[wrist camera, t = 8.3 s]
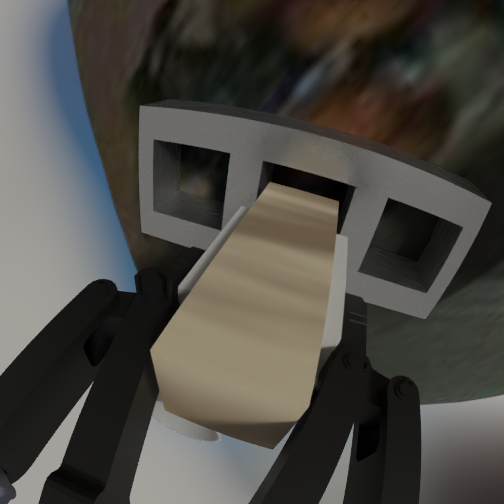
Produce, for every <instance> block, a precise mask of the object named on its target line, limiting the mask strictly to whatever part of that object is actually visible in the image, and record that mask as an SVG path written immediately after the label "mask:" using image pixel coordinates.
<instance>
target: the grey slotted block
mask: <svg viewBox="0 0 504 504" xmlns="http://www.w3.org/2000/svg"><path fill="white" fill-rule="evenodd" d="M182 144H186V145H191V146H197V147H202V148H207V149H212V150H217V151H222V152H227V153H230V161H229V169H228V177H227V186H226V194H225V203H224V202H221V201H217V200H213V199H209V198H205V197H201V196H197V195H193V194H189V193H185V192H181V191H180V168H181V150H182ZM274 163H275V164H279V165H283V166H287V167H291V168H294V169H298V170H302V171H305V172H309V173H313V174H316V175H320V176H323V177H326V178H330V179H333V180H336V181H340V182H343V183H346V184H349V186H348V189H347V193H346V196H345V199H344V202H343V205H342V208H341V211H340V214H339V217H338V221H337V232H336V234H339V235H342V236H346V237H348V249H347V271H346V288H345V292H346V293H349V294H353V295H356V296H359V297H362V298H363V300H364V302H367V303H371V304H374V305H378V306H381V307H385V308H388V309H391V310H395V311H398V312H402V313H405V314H409V315H412V316H416V317H419V318H423V319H426V318H427V316H428V315H429V313H430V312H431V310H432V309H433V308H434V306H435V305H436V303H437V302H438V300H439V299H440V297H441V296H442V294H443V293H444V291H445V289H446V288H447V286H448V285H449V283H450V282H451V280H452V278H453V277H454V275H455V273H456V272H457V270H458V268H459V267H460V265H461V263H462V261H463V260H464V258H465V256H466V254H467V253H468V251H469V249H470V247H471V245H472V243H473V241H474V240H475V238H476V236H477V234H478V232H479V230H480V228H481V226H482V224H483V222H484V219H485V217H486V215H487V213H488V211H489V209H490V206H491V204H492V203H491V201H490V200H489V199H488V198H487V197H486V196H485V195H484V194H483V193H482V192H481V191H480V190H479V189H478V188H477V187H476V186H475V185H474V184H473V183H472V182H471V181H469V180H467V179H465V178H463V177H461V176H459V175H457V174H454V173H452V172H450V171H448V170H446V169H444V168H441V167H439V166H437V165H435V164H432V163H430V162H428V161H425V160H423V159H420V158H418V157H415V156H413V155H410V154H408V153H405V152H403V151H400V150H397V149H395V148H392V147H389V146H387V145H384V144H381V143H378V142H375V141H372V140H369V139H366V138H363V137H360V136H357V135H354V134H350V133H347V132H344V131H340V130H337V129H333V128H330V127H326V126H322V125H319V124H315V123H311V122H307V121H303V120H299V119H295V118H290V117H286V116H281V115H277V114H272V113H267V112H262V111H256V110H251V109H245V108H239V107H233V106H226V105H220V104H212V103H204V102H196V101H186V100H175V99H170V100H165V101H160V102H155V103H150V104H146V105H141V106H140V118H139V192H140V213H141V229H142V232H143V233H146V234H149V235H152V236H155V237H158V238H161V239H164V240H167V241H170V242H173V243H176V244H179V245H183V246H186V247H189V248H191V247H193V246H194V247H197V248H200V249H204V250H207V249H208V247H209V246H210V245H211V244H212V242H213V241H214V240H215V239H216V237H217V236H218V235H219V233H220V232H221V231H222V230H223V228H224V227H225V226H226V225H227V223H228V222H229V221H230V220H231V218H232V217H233V216H234V215H235V213H236V212H237V211H238V210H239V209H240V207H241V206H243V207H247V208H251V207H252V206H253V204H254V203H255V201H256V200H257V199H258V197H259V196H260V195H261V193H262V192H263V191H264V189H265V188H266V187H267V185H268V184H269V183H270V182H271V179H272V174H273V168H274ZM388 198H391V199H394V200H397V201H399V202H402V203H405V204H407V205H410V206H413V207H415V208H418V209H421V210H423V211H426V212H428V213H431V214H433V215H436V216H438V217H439V220H438V222H437V224H436V226H435V228H434V230H433V232H432V235H431V237H430V239H429V241H428V243H427V245H426V247H425V249H424V251H423V253H422V255H421V256H420V258H419V260H418V261H415V260H412V259H409V258H407V257H404V256H401V255H398V254H395V253H392V252H389V251H386V250H383V249H380V248H377V247H374V246H370V242H371V240H372V237H373V235H374V233H375V230H376V228H377V225H378V223H379V220H380V218H381V215H382V213H383V210H384V207H385V205H386V202H387V199H388Z"/></svg>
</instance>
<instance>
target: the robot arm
mask: <svg viewBox="0 0 504 504" xmlns="http://www.w3.org/2000/svg"><path fill="white" fill-rule="evenodd" d="M249 210H250V208H247V207H243V206H241V207H240V209H239V210H238V211H237V212H236V213H235V215H234V216H233V217H232V218H231V220H230V221H229V222H228V223H227V225H226V226H225V227H224V228H223V230H222V231H221V232H220V233H219V235H218V236H217V237H216V239H215V240H214V241H213V242H212V244H211V245H210V246H209V247H208V249H207V250H204V249H200V248H197V247H194V246H193V247H191V248H189V249H187V250H185V251H183V252H182V253H181V255H180V256H179V257H178V258H177V259H176V260H175V261H174V263H173V264H172V265H171V266H170V267H169V268H168V270H167V271H164V270H162V269H159V268H147V269H143V270H141V271H139V272H138V273H137V274H136V275H135V276H134V277H135V284H136V291H137V293H131V292H123V291H118V290H117V287H116V285H115V283H113V282H112V281H110V280H107V279H99V280H96V281H93V282H92V283H90V284H89V285H88V286H87V287H85V288H84V289H83V290H82V291H81V292H80V293H79V294H78V295H77V296H76V297H75V298H74V299H73V300H72V301H71V302H70V303H69V304H67V306H65V307H64V308H63V310H61V311H60V312H59V313H58V314H57V315H56V316H55V317H54V318H53V319H52V320H51V321H50V322H49V323H48V324H47V325H46V326H45V327H44V329H43V330H42V331H41V332H40V333H39V334H38V335H37V336H36V337H35V338H34V339H33V340H32V341H31V342H30V343H29V344H28V345H27V346H26V348H25V349H24V350H23V351H22V352H21V353H20V354H19V355H18V356H17V357H16V359H15V360H14V361H13V362H12V363H11V364H10V365H9V366H8V368H7V369H6V370H5V371H4V372H3V373H2V375H1V376H0V504H8V502H9V501H10V500H11V499H14V498H15V497H16V490H15V488H14V487H13V486H12V485H11V484H13V483H14V482H16V481H17V480H18V479H20V477H22V476H23V475H24V474H25V473H26V472H27V470H28V469H29V468H30V467H31V465H32V464H33V463H34V461H35V460H36V458H37V457H38V455H39V454H40V453H41V451H42V450H43V448H44V447H45V445H46V444H47V443H48V441H49V440H50V438H51V437H52V436H53V434H54V433H55V431H56V430H57V429H58V427H59V426H60V425H61V423H62V422H63V420H64V419H65V418H66V417H67V415H68V414H69V413H70V411H71V410H72V408H73V407H74V406H75V405H76V403H77V402H78V401H79V399H80V398H81V397H82V395H83V394H84V393H85V391H86V390H87V389H88V387H89V386H90V385H91V384H92V382H93V381H94V382H93V384H92V387H91V389H90V391H89V394H88V396H87V398H86V401H85V403H84V406H83V408H82V410H81V413H80V415H79V418H78V421H77V423H76V426H75V428H74V431H73V433H72V436H71V439H70V441H69V444H68V447H67V450H66V453H65V456H64V458H63V461H62V464H61V466H60V467H59V469H58V470H56V471H54V472H52V473H51V474H50V475H49V476H48V477H47V479H46V481H45V484H44V487H43V490H42V494H41V497H40V501H39V504H130V500H129V498H130V492H131V488H132V484H133V481H134V477H135V473H136V469H137V466H138V462H139V458H140V454H141V451H142V447H143V444H144V440H145V437H146V433H147V430H148V427H149V423H150V420H151V416H152V413H153V410H154V406H155V403H156V400H157V397H158V393H159V386H158V382H157V378H156V374H155V370H154V365H153V361H152V356H151V352H150V350H151V348H152V347H153V345H154V344H155V342H156V341H157V339H158V338H159V336H160V335H161V333H162V332H163V330H164V329H165V327H166V326H167V325H168V323H169V322H170V320H171V319H172V317H173V316H174V314H175V313H176V312H177V310H178V309H179V307H180V306H181V304H182V303H183V301H184V300H185V299H186V297H187V296H188V294H189V293H190V291H191V290H192V289H193V287H194V286H195V284H196V283H197V282H198V280H199V279H200V277H201V276H202V274H203V273H204V272H205V270H206V269H207V267H208V266H209V265H210V263H211V262H212V260H213V259H214V258H215V256H216V255H217V254H218V252H219V251H220V249H221V248H222V247H223V245H224V244H225V242H226V241H227V240H228V238H229V237H230V236H231V234H232V233H233V231H234V230H235V229H236V227H237V226H238V225H239V223H240V222H241V220H242V219H243V218H244V216H245V215H246V214H247V212H248V211H249ZM347 249H348V237H346V236H342V235H339V234H336V242H335V252H334V261H333V270H332V278H331V285H330V293H329V300H328V307H327V314H326V320H325V326H324V333H323V339H322V344H321V350H320V355H319V361H318V366H317V371H316V376H315V380H316V378H317V377H318V381H317V385H316V387H315V388H314V390H313V391H312V395H311V400H310V405H309V407H308V409H307V410H306V411H305V412H304V414H303V415H302V416H301V417H300V419H299V420H298V421H297V423H296V425H295V427H294V429H293V430H292V432H291V434H290V436H289V438H288V440H287V441H286V443H285V445H284V447H283V449H282V450H281V452H280V454H279V456H278V457H277V459H276V461H275V462H274V464H273V466H272V467H271V469H270V471H269V472H268V474H267V476H266V477H265V479H264V481H263V482H262V484H261V485H260V487H259V489H258V490H257V492H256V493H255V495H254V496H253V498H252V499H251V501H250V502H249V504H319V501H320V500H321V498H322V496H323V494H324V492H325V490H326V488H327V485H328V483H329V481H330V479H331V477H332V475H333V473H334V470H335V468H336V466H337V463H338V461H339V459H340V456H341V454H342V452H343V449H344V447H345V444H346V442H347V439H348V437H349V434H350V431H351V429H352V426H353V423H354V430H353V439H352V448H351V456H350V464H349V471H348V477H347V484H346V489H345V495H344V500H343V504H419V493H420V476H421V419H420V400H419V392H418V388H417V386H416V384H415V383H414V382H413V381H412V380H411V379H410V378H408V377H405V376H395V377H393V378H392V379H391V380H390V379H388V378H386V377H385V376H383V375H381V374H379V373H378V372H376V371H375V370H374V369H373V368H372V367H371V364H370V361H369V358H368V357H367V356H366V328H367V326H366V324H367V318H366V317H367V307H366V304H365V302H364V300H363V298H362V297H359V296H356V295H353V294H349V293H346V292H345V288H346V271H347ZM318 375H319V376H318Z"/></svg>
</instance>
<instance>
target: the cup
mask: <svg viewBox="0 0 504 504" xmlns="http://www.w3.org/2000/svg"><path fill="white" fill-rule="evenodd" d="M152 416H153V417H154V418H155V419H156V420H158V421H159V422H161V423H162V424H164V425H165V426H167V427H169V428H170V429H172V430H174V431H176V432H178V433H180V434H182V435H185V436H187V437H190V438H193V439H196V440H200V441H205V442H212V443H214V442H219V441H221V439H222V436H223V434H222V433H219V432H216V431H213V430H211V429H208V428H205V427H203V426H200V425H198V424H195V423H193V422H190V421H188V420H186V419H183V418H181V417H179V416H176V415H174V414H172V413H170V412H168V411H165V409H164V405H163V401H162V398H161V394H160V390H159V393H158V397H157V400H156V403H155V406H154V410H153V413H152Z"/></svg>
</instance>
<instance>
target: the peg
mask: <svg viewBox="0 0 504 504" xmlns="http://www.w3.org/2000/svg"><path fill="white" fill-rule="evenodd" d="M338 208H339V201H335V200H332V199H329V198H326V197H322V196H319V195H315V194H312V193H309V192H305V191H302V190H298V189H294V188H291V187H287V186H283V185H280V184H276V183H272V182H270V183H269V184H268V185H267V187H266V188H265V189H264V191H263V192H262V193H261V195H260V196H259V197H258V199H257V200H256V201H255V203H254V204H253V206H252V207H251V208H250V210H249V211H248V212H247V214H246V215H245V216H244V218H243V219H242V220H241V222H240V223H239V225H238V226H237V227H236V229H235V230H234V231H233V233H232V234H231V236H230V237H229V238H228V240H227V241H226V242H225V244H224V245H223V247H222V248H221V249H220V251H219V252H218V254H217V255H216V256H215V258H214V259H213V260H212V262H211V263H210V265H209V266H208V267H207V269H206V270H205V272H204V273H203V274H202V276H201V277H200V279H199V280H198V282H197V283H196V284H195V286H194V287H193V289H192V290H191V291H190V293H189V294H188V296H187V297H186V299H185V300H184V301H183V303H182V304H181V306H180V307H179V309H178V310H177V312H176V313H175V314H174V316H173V317H172V319H171V320H170V322H169V323H168V325H167V326H166V327H165V329H164V330H163V332H162V333H161V335H160V336H159V338H158V339H157V341H156V342H155V344H154V345H153V347H152V348H151V350H150V352H151V356H152V361H153V365H154V370H155V374H156V378H157V382H158V386H159V390H160V394H161V398H162V401H163V405H164V409H165V411H168V412H170V413H172V414H174V415H176V416H179V417H181V418H183V419H186V420H188V421H190V422H193V423H195V424H198V425H200V426H203V427H205V428H208V429H211V430H213V431H216V432H219V433H222V434H224V435H227V436H230V437H233V438H236V439H239V440H242V441H245V442H249V443H252V444H256V445H259V446H262V447H266V448H269V449H274V448H275V446H276V445H277V444H278V443H279V442H280V441H281V440H282V439H283V438H284V436H285V435H286V434H287V433H288V432H289V430H290V429H291V428H292V427H293V426H294V425H295V423H296V422H297V421H298V420H299V419H300V417H301V416H302V415H303V414H304V412H305V411H306V410H307V409H308V407H309V405H310V400H311V395H312V391H313V386H314V381H315V376H316V371H317V366H318V361H319V355H320V350H321V344H322V339H323V333H324V326H325V320H326V314H327V307H328V300H329V293H330V285H331V278H332V270H333V261H334V252H335V242H336V232H337V221H338Z"/></svg>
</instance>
